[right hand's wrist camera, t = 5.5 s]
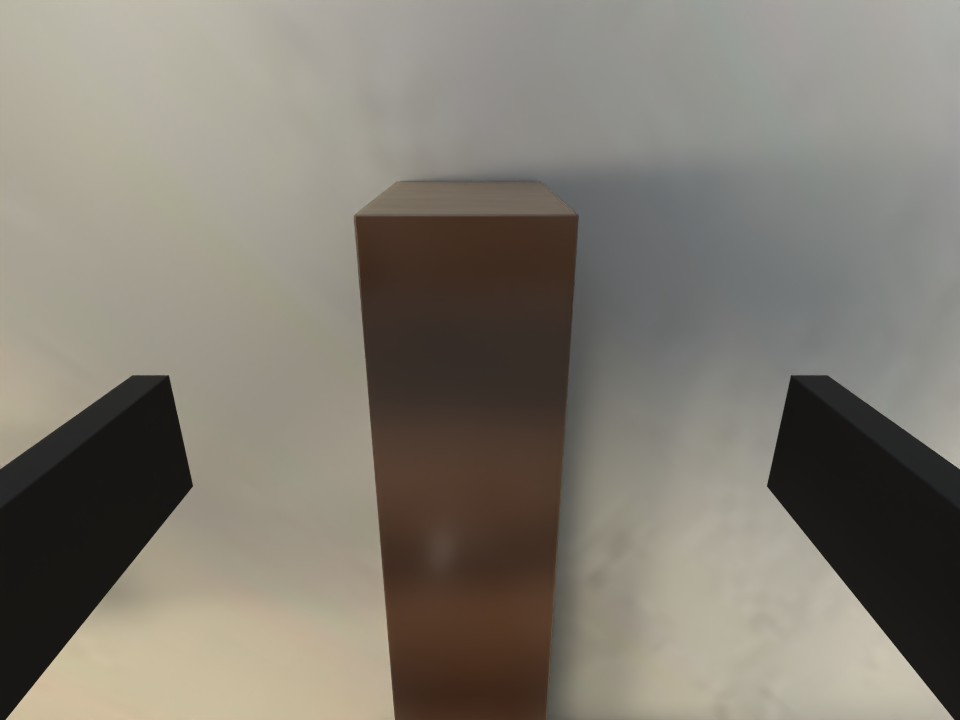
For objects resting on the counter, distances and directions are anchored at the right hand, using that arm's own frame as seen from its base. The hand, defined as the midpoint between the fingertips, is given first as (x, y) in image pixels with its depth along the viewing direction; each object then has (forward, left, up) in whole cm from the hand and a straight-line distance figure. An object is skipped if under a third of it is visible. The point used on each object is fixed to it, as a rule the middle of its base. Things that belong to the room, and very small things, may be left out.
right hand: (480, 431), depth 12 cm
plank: (0, -12, -11) cm, 16 cm away
